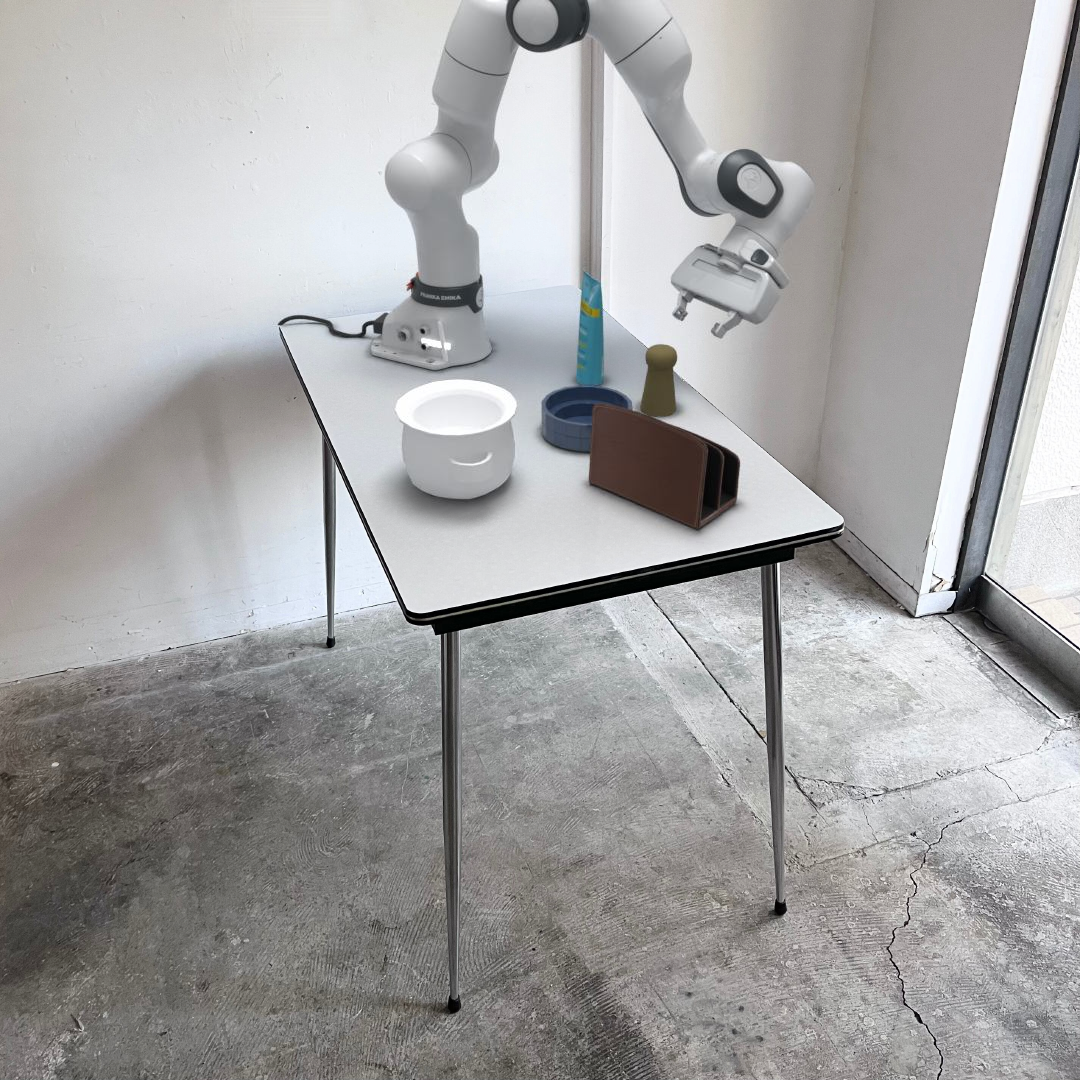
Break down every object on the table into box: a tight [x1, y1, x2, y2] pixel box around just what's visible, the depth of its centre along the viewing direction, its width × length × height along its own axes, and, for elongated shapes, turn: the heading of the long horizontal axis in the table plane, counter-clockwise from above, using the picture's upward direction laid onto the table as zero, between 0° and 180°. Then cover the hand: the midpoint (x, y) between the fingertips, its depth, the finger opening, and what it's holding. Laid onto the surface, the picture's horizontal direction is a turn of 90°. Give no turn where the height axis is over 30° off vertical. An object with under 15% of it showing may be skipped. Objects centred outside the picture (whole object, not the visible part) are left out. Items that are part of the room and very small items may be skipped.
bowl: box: [540, 384, 634, 452], centre depth 174 cm, size 14×14×5 cm
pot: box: [394, 379, 518, 500], centre depth 159 cm, size 22×17×12 cm
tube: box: [575, 268, 605, 386], centre depth 187 cm, size 7×5×19 cm, turn 26°
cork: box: [639, 343, 678, 418], centre depth 180 cm, size 6×6×11 cm
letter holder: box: [588, 403, 741, 531], centre depth 155 cm, size 10×20×14 cm, turn 48°
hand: (695, 326), depth 179 cm, fingers open, 8 cm apart
